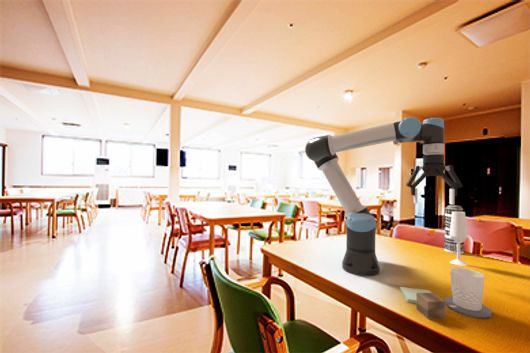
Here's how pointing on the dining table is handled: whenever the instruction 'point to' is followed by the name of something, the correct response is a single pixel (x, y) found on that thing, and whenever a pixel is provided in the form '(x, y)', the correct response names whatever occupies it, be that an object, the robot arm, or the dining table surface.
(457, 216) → the champagne flute
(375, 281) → the dining table surface
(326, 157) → the robot arm
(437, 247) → the dining table surface
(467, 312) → the slate coaster
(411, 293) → the green mat
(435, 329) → the dining table surface
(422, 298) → the walnut block
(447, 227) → the decorative candle
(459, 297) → the white cup
